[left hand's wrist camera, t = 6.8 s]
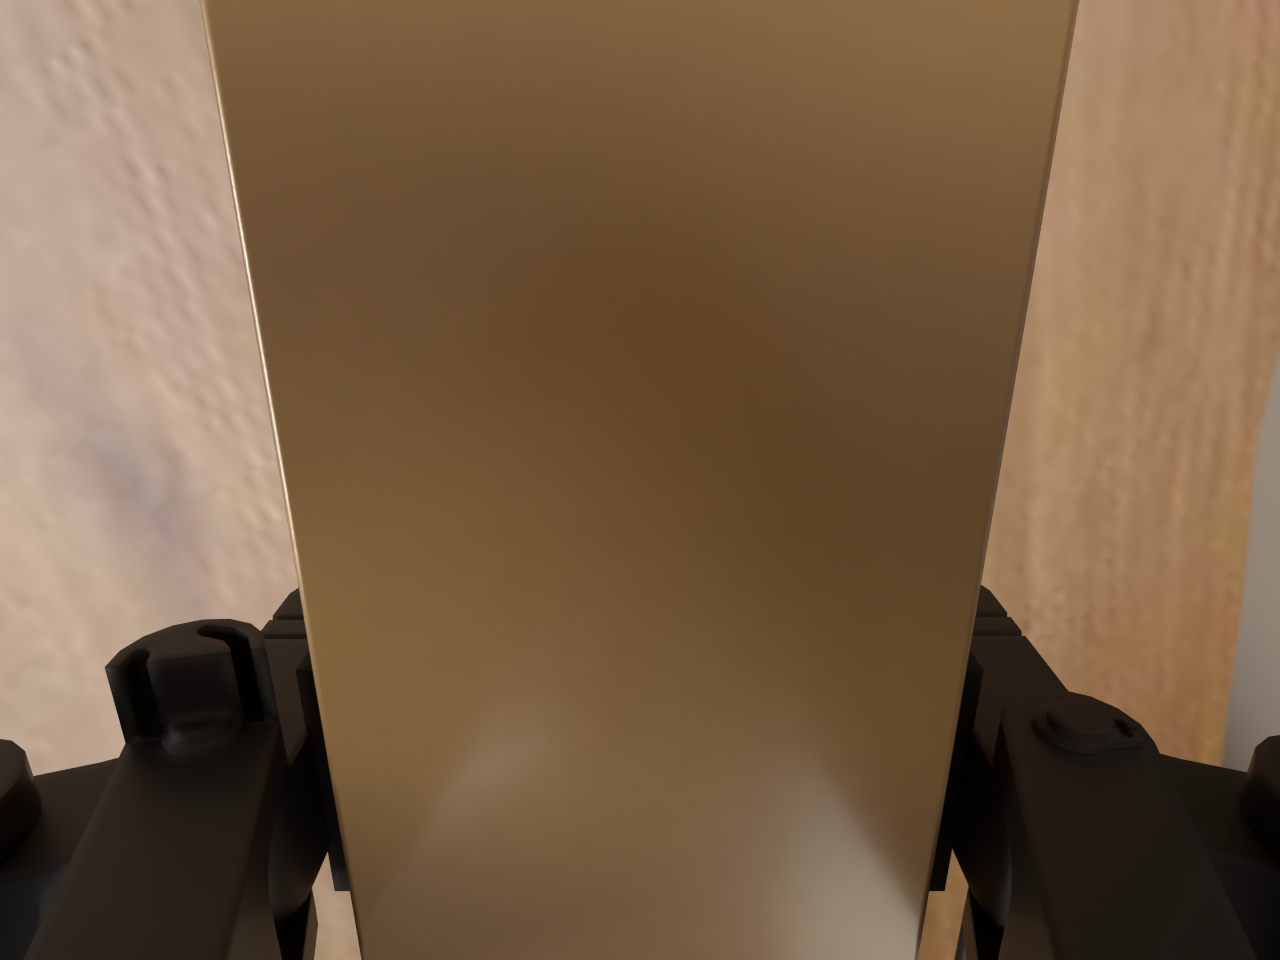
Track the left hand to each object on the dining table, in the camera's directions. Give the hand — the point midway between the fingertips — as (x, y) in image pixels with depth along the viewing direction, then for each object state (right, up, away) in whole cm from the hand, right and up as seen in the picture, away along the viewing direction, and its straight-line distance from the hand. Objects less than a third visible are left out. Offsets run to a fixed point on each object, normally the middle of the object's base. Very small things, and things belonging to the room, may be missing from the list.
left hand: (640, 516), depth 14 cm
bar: (0, +9, -3) cm, 9 cm away
